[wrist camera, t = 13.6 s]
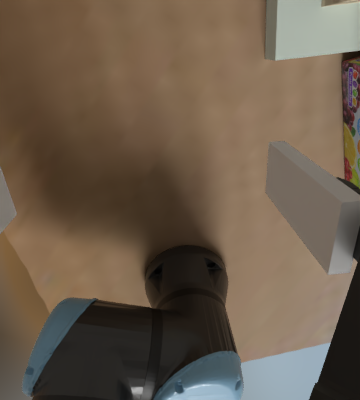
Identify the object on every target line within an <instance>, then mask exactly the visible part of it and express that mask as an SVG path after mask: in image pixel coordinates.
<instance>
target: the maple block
mask: <svg viewBox="0 0 360 400" xmlns="http://www.w3.org/2000/svg"><path fill="white" fill-rule="evenodd" d="M359 2H360V0H322V3H321V7H325V6H334V5H342V4H351V3H359Z"/></svg>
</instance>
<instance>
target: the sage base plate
mask: <svg viewBox="0 0 360 400" xmlns="http://www.w3.org/2000/svg"><path fill="white" fill-rule="evenodd" d="M321 3H322V0H267V1H266V42H265V59H268V60H275V61H276V60H284V59H293V58H301V57H310V56H318V55H327V54H335V53H344V52H352V51H360V2H359V3H351V4H342V5H334V6H325V7H321Z"/></svg>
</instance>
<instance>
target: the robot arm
mask: <svg viewBox="0 0 360 400" xmlns="http://www.w3.org/2000/svg"><path fill="white" fill-rule="evenodd" d="M265 193H266V194H267V195H268V197H269V198H270V199H271V200H272V202H273V203H274V204H275V206H276V207H277V208H278V210H279V211H280V212H281V214H282V215H283V216H284V218H285V219H286V220H287V222H288V223H289V224H290V225H291V227H292V228H293V229H294V231H295V232H296V233H297V235H298V236H299V237H300V239H301V240H302V241H303V243H304V244H305V245H306V246H307V248H308V249H309V250H310V252H311V253H312V254H313V256H314V257H315V258H316V260H317V261H318V262H319V264H320V265H321V266H322V268H323V269H324V270H325V271H326V273H327V274H328V275H330V274H340V273H350V270H351V266H352V262H353V258H355V260H356V261H357V262H358V263H357V266H356V269H355V272H354V275H353V278H352V281H351V284H350V287H349V290H348V293H347V296H346V299H345V302H344V305H343V308H342V311H341V314H340V317H339V320H338V323H337V326H336V329H335V332H334V335H333V338H332V341H331V344H330V347H329V350H328V353H327V356H326V359H325V362H324V365H323V368H322V371H321V374H320V377H319V380H318V382H317V383H315V385H314V388H313V390H312V393H311V396H310V399H309V400H360V189H359V187H357V186H356V185H354V184H353V183H352V182H350V181H347V180H344V179H341V178H339V177H337V178H335V177H334V176H333V175H331V174H330V173H328V172H327V171H326V170H324V169H323V168H321V167H320V166H319V165H317V164H316V163H314V162H313V161H312V160H310V159H309V158H307V157H306V156H305V155H303V154H302V153H300V152H299V151H298V150H296V149H295V148H293V147H292V146H291V145H289V144H288V143H286V142H285V141H277V142H269V149H268V163H267V178H266V192H265ZM16 215H17V213H16V210H15V207H14V204H13V201H12V198H11V195H10V193H9V190H8V187H7V184H6V181H5V178H4V175H3V172H2V170H1V167H0V234H1V232H2V231H3V230H4V229H5V228H6V227H7V225H8V224H9V223H10V222H11V221H12V220H13V218H14V217H15V216H16ZM145 290H146V295H147V297H148V300H149V302H150V305H151V307H152V308H150V307H143V306H136V305H129V304H122V303H115V302H108V301H102V300H98V299H96V298H93V299H83V298H67V299H64V300H63V301H61V302H60V303H59V304H58V305H57V306H56V307H55V308H54V309H53V311H52V312H51V314H50V315H49V317H48V319H47V321H46V322H45V324H44V326H43V328H42V330H41V332H40V334H39V337H38V339H37V341H36V343H35V346H34V348H33V351H32V353H31V356H30V358H29V361H28V367H27V369H26V372H25V374H24V377H23V382H22V391H23V393H24V394H26V395H27V396H28V397H33V399H32V400H240V399H241V397H242V394H243V388H244V384H243V377H242V371H241V362H240V357H239V355H238V353H237V349H236V346H235V342H234V338H233V334H232V331H231V327H230V323H229V319H228V315H227V312H226V308H225V303H226V296H227V290H228V276H227V273H226V269H225V266H224V264H223V262H222V261H221V259H220V258H219V257H218V256H217V255H216V254H214V253H213V252H211V251H209V250H207V249H205V248H202V247H197V246H179V247H175V248H172V249H169V250H167V251H165V252H163V253H161V254H160V255H158V256H157V257H156V258H155V259H154V260H153V261H152V262H151V264H150V265H149V267H148V269H147V272H146V278H145Z"/></svg>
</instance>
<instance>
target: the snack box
mask: <svg viewBox="0 0 360 400" xmlns="http://www.w3.org/2000/svg"><path fill="white" fill-rule="evenodd" d="M342 84H343V117H344V152H345V180H347V181H350V182H352V183H353V184H354V185H356V186H357V187H359V189H360V56H359V57H356V58H353V59H349V60H346V61H343V62H342Z"/></svg>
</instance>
